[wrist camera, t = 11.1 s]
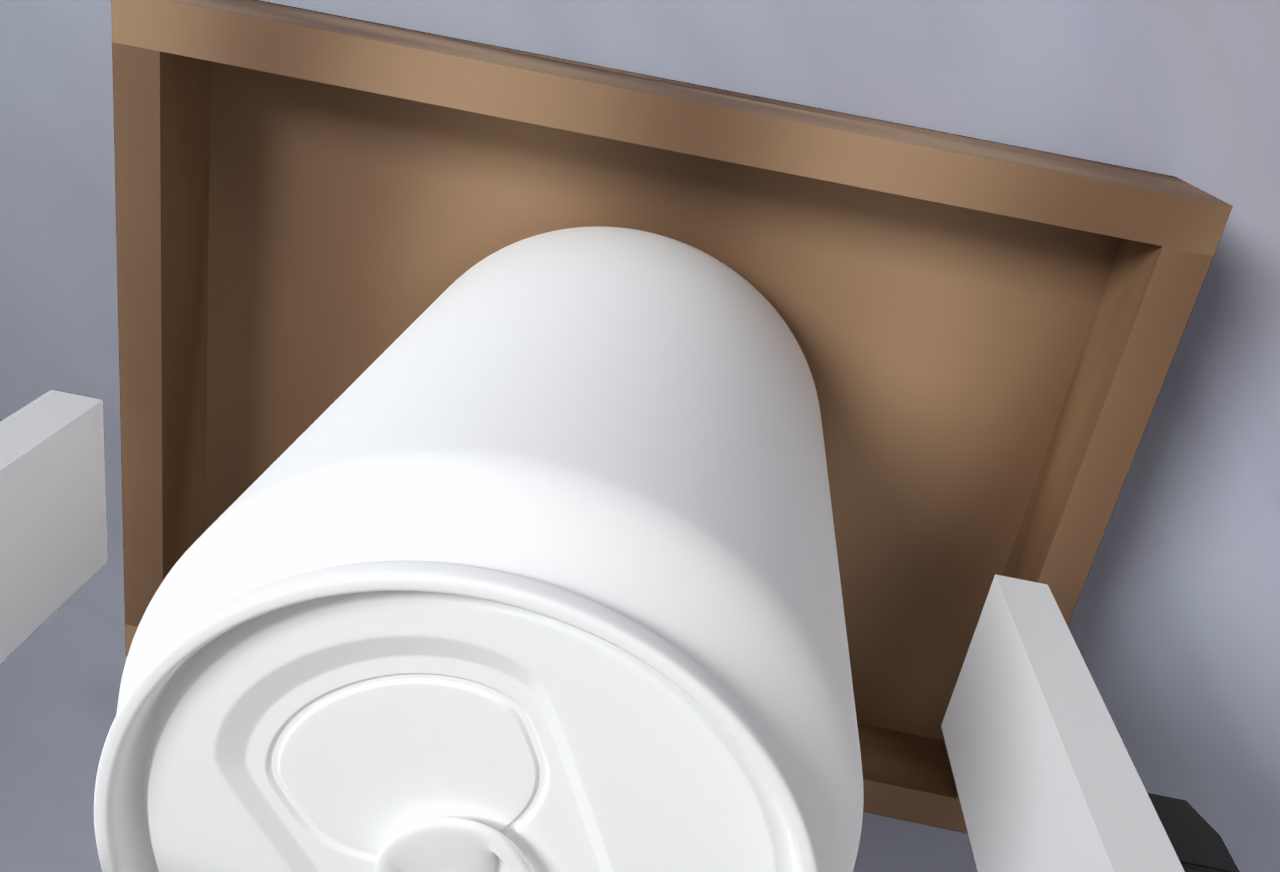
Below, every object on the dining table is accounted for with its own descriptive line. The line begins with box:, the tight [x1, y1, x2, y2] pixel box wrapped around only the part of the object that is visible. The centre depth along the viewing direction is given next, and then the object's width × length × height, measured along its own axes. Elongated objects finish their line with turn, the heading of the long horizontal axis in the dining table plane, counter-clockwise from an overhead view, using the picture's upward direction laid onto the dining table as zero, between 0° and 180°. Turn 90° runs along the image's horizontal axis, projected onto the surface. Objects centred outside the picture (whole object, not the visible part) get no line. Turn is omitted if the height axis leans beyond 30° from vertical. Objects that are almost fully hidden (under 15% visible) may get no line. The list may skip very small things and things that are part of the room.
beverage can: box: [94, 226, 864, 872], centre depth 16 cm, size 8×8×12 cm
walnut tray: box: [111, 0, 1233, 834], centre depth 21 cm, size 18×13×3 cm
